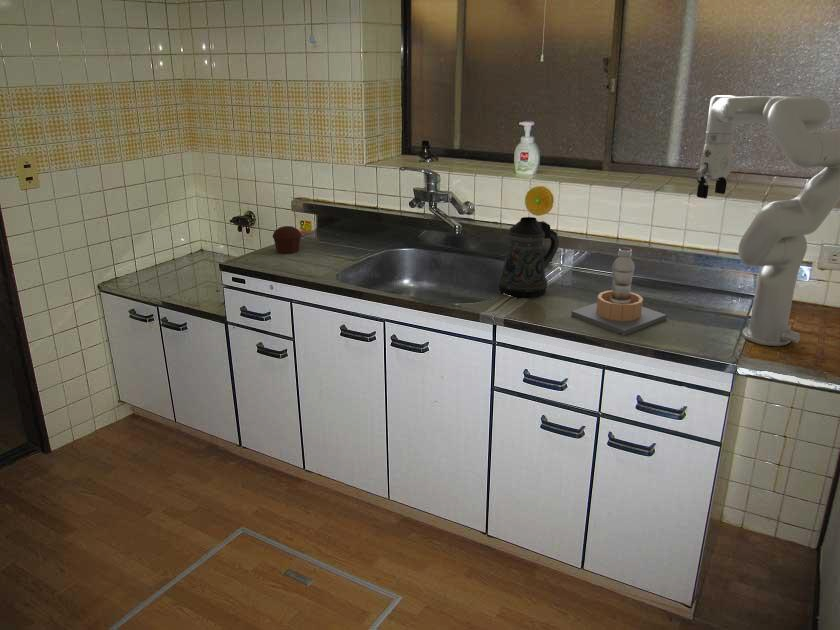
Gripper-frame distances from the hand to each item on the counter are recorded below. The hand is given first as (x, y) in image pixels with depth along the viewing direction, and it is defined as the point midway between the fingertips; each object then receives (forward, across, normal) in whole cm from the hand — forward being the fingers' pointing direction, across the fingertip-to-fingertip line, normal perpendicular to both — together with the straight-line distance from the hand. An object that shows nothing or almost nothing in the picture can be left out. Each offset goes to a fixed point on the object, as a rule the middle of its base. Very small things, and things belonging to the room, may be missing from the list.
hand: (710, 195), depth 219 cm
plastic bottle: (+33, -31, +6) cm, 46 cm away
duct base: (+34, -32, +6) cm, 47 cm away
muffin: (+35, -77, +136) cm, 160 cm away
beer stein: (+34, -36, +42) cm, 65 cm away
